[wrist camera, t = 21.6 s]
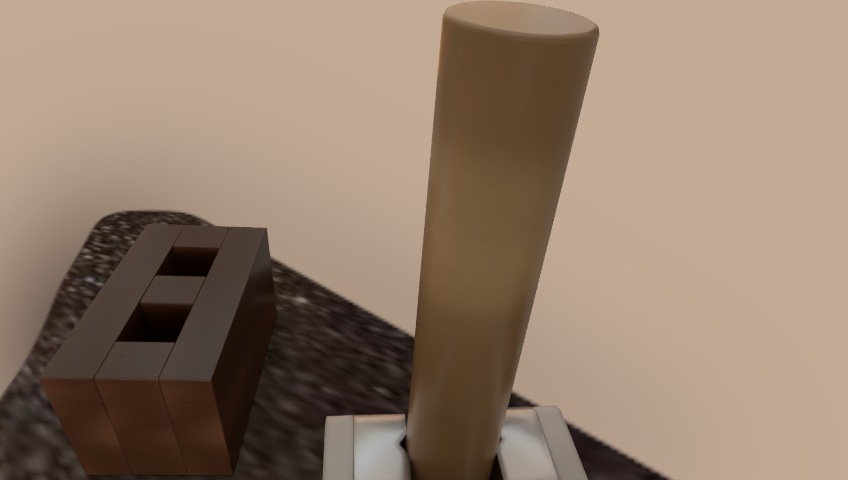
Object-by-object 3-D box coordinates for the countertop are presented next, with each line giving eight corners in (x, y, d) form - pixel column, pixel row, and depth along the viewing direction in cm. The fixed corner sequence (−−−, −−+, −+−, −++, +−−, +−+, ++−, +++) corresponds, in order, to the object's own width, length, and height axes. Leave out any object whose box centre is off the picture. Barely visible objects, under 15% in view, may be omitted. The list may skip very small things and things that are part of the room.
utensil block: (86, 475, 30) (38, 377, 25) (170, 311, 41) (147, 223, 37) (233, 475, 30) (211, 380, 26) (277, 314, 42) (266, 227, 37)
